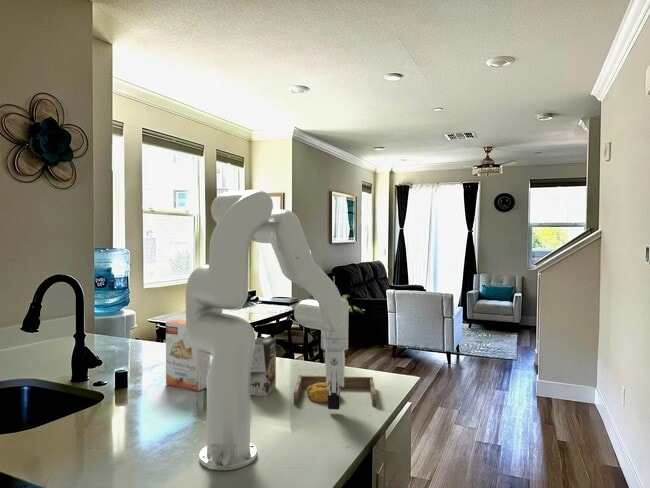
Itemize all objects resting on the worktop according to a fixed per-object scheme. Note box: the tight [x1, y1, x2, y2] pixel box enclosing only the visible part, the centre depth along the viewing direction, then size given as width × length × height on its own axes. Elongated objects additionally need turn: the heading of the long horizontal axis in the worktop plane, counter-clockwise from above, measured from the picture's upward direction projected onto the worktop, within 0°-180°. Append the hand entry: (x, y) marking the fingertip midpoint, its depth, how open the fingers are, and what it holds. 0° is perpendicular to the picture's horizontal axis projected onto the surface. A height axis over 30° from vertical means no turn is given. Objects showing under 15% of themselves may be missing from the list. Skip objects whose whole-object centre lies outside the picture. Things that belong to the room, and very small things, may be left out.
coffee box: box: [250, 337, 277, 397], centre depth 146 cm, size 9×6×16 cm
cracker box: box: [165, 318, 211, 392], centre depth 150 cm, size 14×6×21 cm, turn 62°
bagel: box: [305, 382, 341, 403], centre depth 142 cm, size 10×11×5 cm
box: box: [293, 374, 377, 407], centre depth 143 cm, size 16×24×4 cm, turn 88°
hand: (333, 408), depth 129 cm, fingers closed
